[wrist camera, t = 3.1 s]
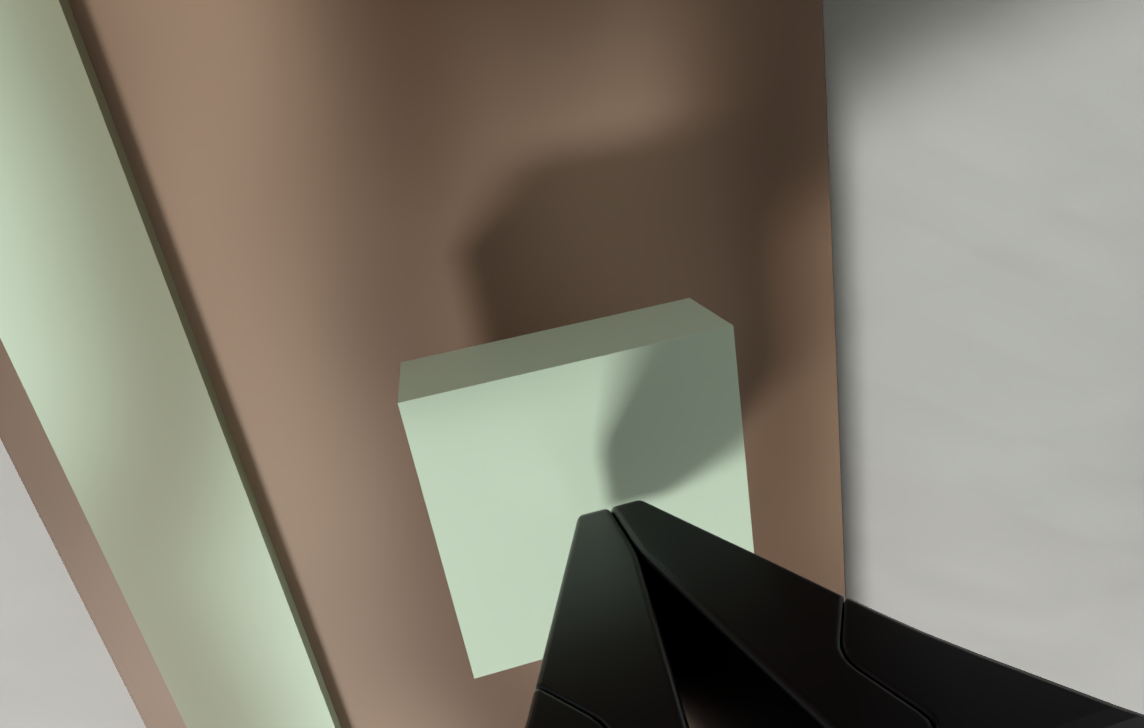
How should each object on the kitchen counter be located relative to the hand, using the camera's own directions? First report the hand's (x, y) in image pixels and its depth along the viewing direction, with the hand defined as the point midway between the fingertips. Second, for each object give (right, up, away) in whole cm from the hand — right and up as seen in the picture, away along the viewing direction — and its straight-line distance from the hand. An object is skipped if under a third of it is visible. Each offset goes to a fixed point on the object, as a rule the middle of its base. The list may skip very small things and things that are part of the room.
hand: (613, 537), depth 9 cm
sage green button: (0, +1, +2) cm, 2 cm away
